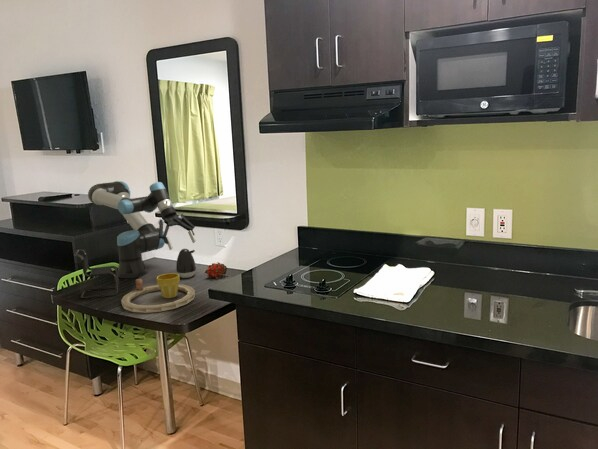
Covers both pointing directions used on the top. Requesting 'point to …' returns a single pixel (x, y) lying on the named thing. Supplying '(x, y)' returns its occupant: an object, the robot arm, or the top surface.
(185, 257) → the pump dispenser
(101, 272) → the chair
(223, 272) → the dragon fruit
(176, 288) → the plant pot
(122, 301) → the beige segmented ring
